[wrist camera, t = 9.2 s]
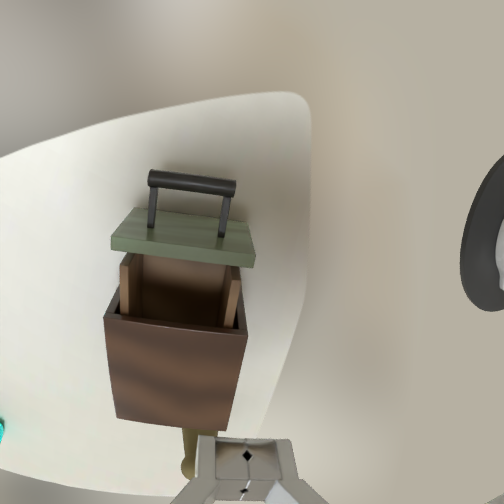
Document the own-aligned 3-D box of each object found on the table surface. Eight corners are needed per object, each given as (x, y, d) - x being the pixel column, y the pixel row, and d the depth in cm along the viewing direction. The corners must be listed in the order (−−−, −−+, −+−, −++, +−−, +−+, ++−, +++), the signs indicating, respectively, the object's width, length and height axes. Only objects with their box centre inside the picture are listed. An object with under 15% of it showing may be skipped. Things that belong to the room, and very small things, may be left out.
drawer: (138, 158, 29) (113, 173, 22) (256, 174, 30) (268, 193, 23) (131, 319, 36) (116, 364, 29) (227, 331, 38) (230, 378, 30)
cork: (173, 412, 44) (168, 472, 34) (208, 403, 44) (209, 465, 34) (192, 432, 47) (191, 488, 37) (225, 424, 46) (229, 482, 36)
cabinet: (128, 266, 34) (103, 317, 25) (240, 281, 36) (248, 335, 27) (130, 363, 40) (116, 418, 31) (223, 374, 42) (226, 431, 33)
